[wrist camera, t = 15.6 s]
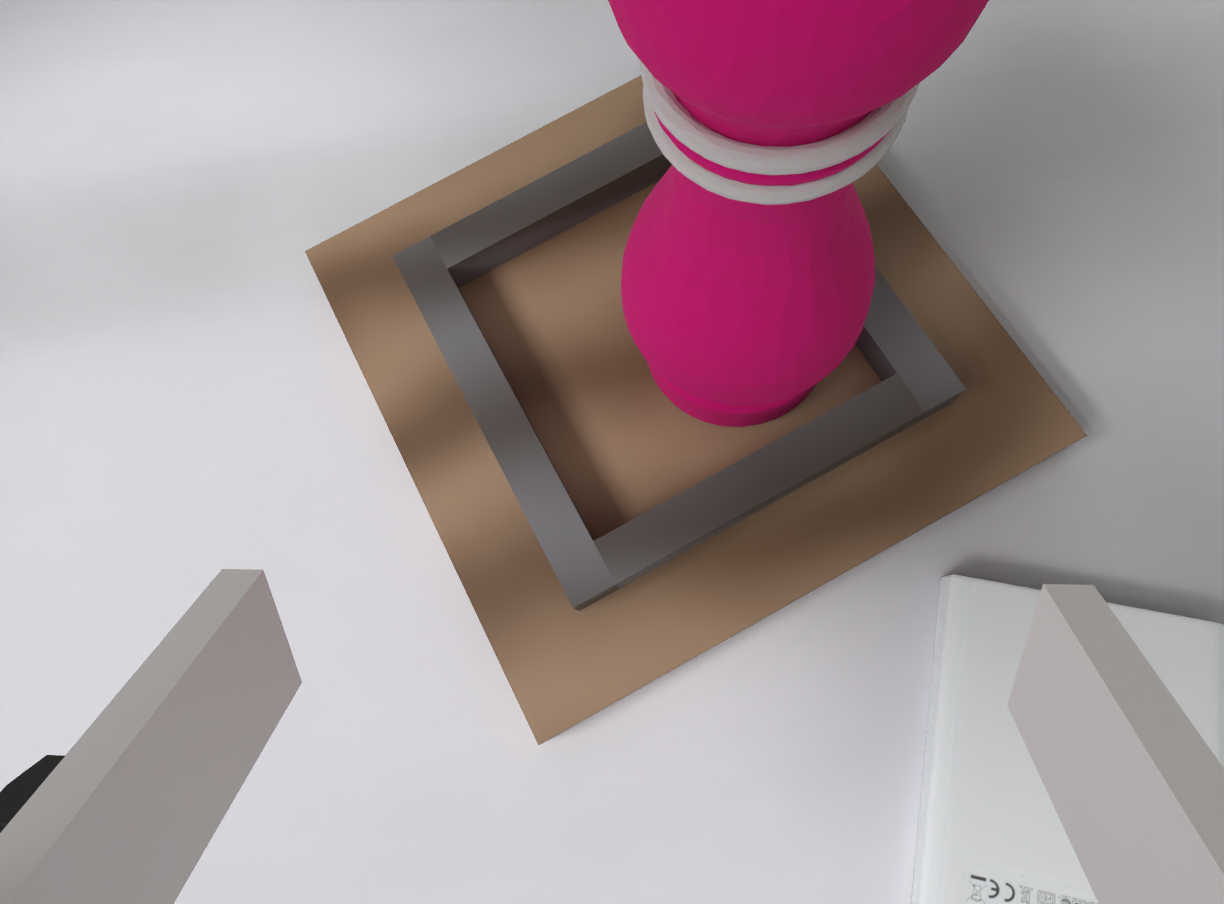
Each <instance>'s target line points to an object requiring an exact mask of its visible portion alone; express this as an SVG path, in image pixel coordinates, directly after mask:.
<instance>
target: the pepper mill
mask: <svg viewBox="0 0 1224 904" xmlns="http://www.w3.org/2000/svg"><path fill="white" fill-rule="evenodd" d="M608 1H609V3H610V6H611V8H612V11H613V13H614V16H615V18H616V21H617V23H618V26H619V28H620V30H621V32H622V34H623V36H624V38H625V40H626V42H627V44H628V45H629V47H630V48H631V49H632V50H633V52H634V53H635V54H636V55H637V57H638V58H639V59H640V68H641V76H642V81H643V103H644V112H645V117H646V121H647V125H648V127H649V129H650V131H651V134H652V136H653V138H654V140H655V142H656V144H657V145H658V147H659V148H660V150H661V152H662V153H663V155H664V156H665V157H666V158H667V159H668V160H669V162H670V163H671V164H672V165H671V167H670V168H669V169H668V170H667V172H666V173H665V174H664V176H663V177H662V178H661V179H660V181H659V182H658V183H657V185H656V186H655V187H654V188H653V190H652V191H651V193H650V194H649V196H648V197H647V199H646V200H645V201H644V203H643V205H642V207H641V209H640V211H639V213H638V215H637V217H636V220H635V222H634V224H633V227H632V229H631V232H630V234H629V237H628V240H627V244H626V247H625V250H624V254H623V262H622V275H621V296H622V305H623V313H624V316H625V320H626V323H627V326H628V329H629V332H630V334H631V336H632V338H633V340H634V342H635V344H636V345H637V347H638V349H639V350H640V352H641V353H642V355H643V356H644V358H645V359H646V361H647V363H648V366H649V369H650V371H651V374H652V376H653V378H654V380H655V382H656V384H657V385H658V387H659V388H660V390H661V391H662V392H663V394H664V395H665V396H666V397H667V398H668V399H669V400H670V401H671V402H672V403H673V404H674V405H675V406H677V407H678V408H679V409H681V410H682V411H684V412H685V413H687V414H689V415H690V416H692V417H694V418H697V419H699V420H701V421H704V422H707V423H711V424H714V425H720V426H726V427H745V426H752V425H758V424H762V423H765V422H768V421H771V420H774V419H777V418H779V417H781V416H783V415H784V414H786V413H788V412H789V411H791V410H792V409H794V408H795V407H796V406H798V405H799V404H800V403H801V402H802V401H803V400H804V399H805V398H806V397H807V396H808V395H809V393H810V392H811V391H812V390H813V388H814V387H815V386H816V384H817V383H819V382H820V381H821V380H823V379H824V378H825V377H826V376H827V375H828V374H829V373H831V372H832V371H833V370H834V369H835V368H836V367H838V365H839V364H840V363H841V362H842V360H843V359H844V358H845V357H846V356H847V354H848V353H849V352H850V351H851V349H852V348H853V346H854V345H855V343H856V341H857V339H858V337H859V335H860V334H861V332H862V329H863V326H864V323H865V320H866V317H867V314H868V311H869V307H870V302H871V298H872V294H873V289H874V285H875V258H874V249H873V243H872V237H871V231H870V225H869V222H868V220H867V217H866V214H865V212H864V209H863V207H862V204H861V202H860V199H859V197H858V195H857V192H856V190H855V187H854V184H853V181H855V180H857V179H858V178H860V177H862V176H863V175H864V174H865V173H867V172H868V171H869V170H870V169H871V168H872V167H874V166H875V165H876V164H877V163H878V162H879V161H880V159H881V158H882V157H883V156H884V155H885V153H886V152H887V151H888V149H889V148H890V146H891V145H892V143H893V142H894V140H895V139H896V137H897V136H898V134H899V132H900V130H901V127H902V125H903V123H904V121H905V119H906V114H907V110H908V107H909V105H910V103H911V101H912V99H913V97H914V95H915V93H916V91H917V88H918V85H919V83H920V82H921V81H922V80H923V79H925V78H926V77H927V76H929V75H930V74H931V73H933V72H934V71H935V70H936V69H938V68H939V67H940V66H941V65H942V64H943V63H944V62H945V61H946V60H947V59H948V58H949V56H950V55H951V54H952V53H953V52H954V51H955V50H956V49H957V48H958V47H959V46H960V44H961V43H962V42H963V41H964V39H965V38H966V36H967V35H968V33H969V31H970V30H971V28H972V27H973V25H974V23H975V22H976V20H977V19H978V17H979V16H980V14H981V12H982V11H983V9H984V8H985V6H986V4H987V2H988V1H989V0H608Z"/></svg>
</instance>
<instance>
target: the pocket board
mask: <svg viewBox="0 0 1224 904" xmlns="http://www.w3.org/2000/svg"><path fill="white" fill-rule="evenodd" d="M671 165H672V164H671V163H670V162H669V160H668V159H667V158H666V157H665V156H664V155H663V153H662V152H661V150H660V148H659V147H658V145H657V144H656V142H655V140H654V138H653V136H652V134H651V131H650V129H649V127H648V125H647V121H646V117H645V112H644V103H643V81H642V76H639V77H637V78H635V79H633V80H631V81H629V82H628V83H626V84H624V85H622V86H620V87H618V88H616V89H614V90H612V91H610V92H608V93H606V94H605V95H603V96H601V97H599V98H597V99H595V100H593V101H591V102H589V103H587V104H585V105H584V106H582V107H580V108H578V109H576V110H574V111H572V112H570V113H568V114H566V115H564V116H563V117H561V118H559V119H557V120H555V121H553V122H551V123H549V124H547V125H545V126H543V127H542V128H540V129H538V130H536V131H534V132H532V133H530V134H528V135H526V136H524V137H522V138H521V139H519V140H517V141H515V142H513V143H511V144H509V145H507V146H505V147H503V148H501V149H500V150H498V151H496V152H494V153H492V154H490V155H488V156H486V157H484V158H482V159H480V160H478V161H477V162H475V163H473V164H471V165H469V166H467V167H465V168H463V169H461V170H459V171H457V172H456V173H454V174H452V175H450V176H448V177H446V178H444V179H442V180H440V181H438V182H436V183H435V184H433V185H431V186H429V187H427V188H425V189H423V190H421V191H419V192H417V193H415V194H414V195H412V196H410V197H408V198H406V199H404V200H402V201H400V202H398V203H396V204H394V205H393V206H391V207H389V208H387V209H385V210H383V211H381V212H379V213H377V214H375V215H373V216H372V217H370V218H368V219H366V220H364V221H362V222H360V223H358V224H356V225H354V226H352V227H350V228H349V229H347V230H345V231H343V232H341V233H339V234H337V235H335V236H333V237H331V238H329V239H328V240H326V241H324V242H322V243H320V244H318V245H316V246H314V247H312V248H310V249H308V250H307V251H305V252H306V254H307V256H308V259H309V261H310V263H311V265H312V267H313V269H314V271H315V273H316V276H317V278H318V280H319V282H320V284H321V286H322V288H323V290H324V292H325V295H326V297H327V299H328V301H329V303H330V305H331V307H332V309H333V311H334V314H335V316H336V318H337V320H338V322H339V324H340V326H341V328H342V330H343V333H344V335H345V337H346V339H347V341H348V343H349V345H350V347H351V350H352V352H353V354H354V356H355V358H356V360H357V362H358V364H359V366H360V369H361V371H362V373H363V375H364V377H365V379H366V381H367V383H368V385H369V388H370V390H371V392H372V394H373V396H374V398H375V400H376V402H377V404H378V407H379V409H380V411H381V413H382V415H383V417H384V419H385V421H386V423H387V426H388V428H389V430H390V432H391V434H392V436H393V438H394V440H395V443H396V445H397V447H398V449H399V451H400V453H401V455H402V457H403V459H404V462H405V464H406V466H407V468H408V470H409V472H410V474H411V476H412V478H413V481H414V483H415V485H416V487H417V489H418V491H419V493H420V495H421V497H422V500H423V502H424V504H425V506H426V508H427V510H428V512H429V514H430V517H431V519H432V521H433V523H434V525H435V527H436V529H437V531H438V533H439V536H440V538H441V540H442V542H443V544H444V546H445V548H446V550H447V552H448V555H449V557H450V559H451V561H452V563H453V565H454V567H455V569H456V571H457V574H458V576H459V578H460V580H461V582H462V584H463V586H464V588H465V591H466V593H467V595H468V597H469V599H470V601H471V603H472V605H473V607H474V610H475V612H476V614H477V616H478V618H479V620H480V622H481V624H482V626H483V629H484V631H485V633H486V635H487V637H488V639H489V641H490V643H491V645H492V648H493V650H494V652H495V654H496V656H497V658H498V660H499V662H500V665H501V667H502V669H503V671H504V673H505V675H506V677H507V679H508V681H509V684H510V686H511V688H512V690H513V692H514V694H515V696H516V698H517V700H518V703H519V705H520V707H521V709H522V711H523V713H524V715H525V717H526V719H527V722H528V724H529V726H530V728H531V730H532V732H533V734H534V736H535V739H536V741H537V743H538V745H540V744H542V743H544V742H545V741H547V740H549V739H551V738H552V737H554V736H556V735H558V734H560V733H561V732H563V731H565V730H567V729H568V728H570V727H572V726H574V725H575V724H577V723H579V722H581V721H583V720H584V719H586V718H588V717H590V716H591V715H593V714H595V713H597V712H598V711H600V710H602V709H604V708H606V707H607V706H609V705H611V704H613V703H614V702H616V701H618V700H620V699H621V698H623V697H625V696H627V695H629V694H630V693H632V692H634V691H636V690H637V689H639V688H641V687H643V686H645V685H646V684H648V683H650V682H652V681H653V680H655V679H657V678H659V677H660V676H662V675H664V674H666V673H668V672H669V671H671V670H673V669H675V668H676V667H678V666H680V665H682V664H683V663H685V662H687V661H689V660H691V659H692V658H694V657H696V656H698V655H699V654H701V653H703V652H705V651H706V650H708V649H710V648H712V647H714V646H715V645H717V644H719V643H721V642H722V641H724V640H726V639H728V638H729V637H731V636H733V635H735V634H737V633H738V632H740V631H742V630H744V629H745V628H747V627H749V626H751V625H753V624H754V623H756V622H758V621H760V620H761V619H763V618H765V617H767V616H768V615H770V614H772V613H774V612H776V611H777V610H779V609H781V608H783V607H784V606H786V605H788V604H790V603H791V602H793V601H795V600H797V599H799V598H800V597H802V596H804V595H806V594H807V593H809V592H811V591H813V590H814V589H816V588H818V587H820V586H822V585H823V584H825V583H827V582H829V581H830V580H832V579H834V578H836V577H838V576H839V575H841V574H843V573H845V572H846V571H848V570H850V569H852V568H853V567H855V566H857V565H859V564H861V563H862V562H864V561H866V560H868V559H869V558H871V557H873V556H875V555H876V554H878V553H880V552H882V551H884V550H885V549H887V548H889V547H891V546H892V545H894V544H896V543H898V542H899V541H901V540H903V539H905V538H907V537H908V536H910V535H912V534H914V533H915V532H917V531H919V530H921V529H922V528H924V527H926V526H928V525H930V524H931V523H933V522H935V521H937V520H938V519H940V518H942V517H944V516H946V515H947V514H949V513H951V512H953V511H954V510H956V509H958V508H960V507H961V506H963V505H965V504H967V503H969V502H970V501H972V500H974V499H976V498H977V497H979V496H981V495H983V494H984V493H986V492H988V491H990V490H992V489H993V488H995V487H997V486H999V485H1000V484H1002V483H1004V482H1006V481H1007V480H1009V479H1011V478H1013V477H1015V476H1016V475H1018V474H1020V473H1022V472H1023V471H1025V470H1027V469H1029V468H1031V467H1032V466H1034V465H1036V464H1038V463H1039V462H1041V461H1043V460H1045V459H1046V458H1048V457H1050V456H1052V455H1054V454H1055V453H1057V452H1059V451H1061V450H1062V449H1064V448H1066V447H1068V446H1069V445H1071V444H1073V443H1075V442H1077V441H1078V440H1080V439H1082V438H1084V437H1085V436H1087V435H1086V434H1085V432H1084V431H1083V430H1082V428H1081V427H1080V426H1079V425H1078V423H1077V422H1076V421H1075V419H1074V418H1073V417H1072V416H1071V414H1070V413H1069V412H1068V410H1067V409H1066V408H1065V406H1064V405H1063V404H1062V403H1061V401H1060V400H1059V399H1058V397H1057V396H1056V395H1055V394H1054V392H1053V391H1052V390H1051V388H1050V387H1049V386H1048V385H1047V383H1046V382H1045V381H1044V379H1043V378H1042V377H1041V376H1040V374H1039V373H1038V372H1037V370H1036V369H1035V368H1034V367H1033V365H1032V364H1031V363H1030V361H1029V360H1028V359H1027V358H1026V356H1025V355H1024V354H1023V352H1022V351H1021V350H1020V349H1019V347H1018V346H1017V345H1016V343H1015V342H1014V341H1013V339H1012V338H1011V337H1010V336H1009V334H1008V333H1007V332H1006V330H1005V329H1004V328H1003V327H1002V325H1001V324H1000V323H999V321H998V320H997V319H996V318H995V316H994V315H993V314H992V312H991V311H990V310H989V309H988V307H987V306H986V305H985V303H984V302H983V301H982V300H981V298H980V297H979V296H978V294H977V293H976V292H975V291H974V289H973V288H972V287H971V285H970V284H969V283H968V282H967V280H966V279H965V278H964V276H963V275H962V274H961V272H960V271H959V270H958V269H957V267H956V266H955V265H954V263H953V262H952V261H951V260H950V258H949V257H948V256H947V254H946V253H945V252H944V251H943V249H942V248H941V247H940V245H939V244H938V243H937V242H936V240H935V239H934V238H933V236H932V235H931V234H930V233H929V231H928V230H927V229H926V227H925V226H924V225H923V224H922V222H921V221H920V220H919V218H918V217H917V216H916V215H915V213H914V212H913V211H912V209H911V208H910V207H909V205H908V204H907V203H906V202H905V200H904V199H903V198H902V196H901V195H900V194H899V193H898V191H897V190H896V189H895V187H894V186H893V185H892V184H891V182H890V181H889V180H888V178H887V177H886V176H885V175H884V173H883V172H882V171H881V169H880V168H879V167H878V166H877V164H876V165H875V166H874V167H872V168H871V169H870V170H869V171H868V172H867V173H865V174H864V175H863V176H862V177H860V178H858V179H857V180H855V181H853V184H854V187H855V190H856V192H857V195H858V197H859V199H860V202H861V204H862V207H863V209H864V212H865V214H866V217H867V220H868V222H869V225H870V231H871V237H872V243H873V249H874V258H875V285H874V289H873V294H872V298H871V302H870V307H869V311H868V314H867V317H866V320H865V323H864V326H863V329H862V332H861V334H860V335H859V337H858V339H857V341H856V343H855V345H854V346H853V348H852V349H851V351H850V352H849V353H848V354H847V356H846V357H845V358H844V359H843V360H842V362H841V363H840V364H839V365H838V367H836V368H835V369H834V370H833V371H832V372H831V373H829V374H828V375H827V376H826V377H825V378H824V379H823V380H821V381H820V382H819V383H817V384H816V386H815V387H814V388H813V390H812V391H811V392H810V393H809V395H808V396H807V397H806V398H805V399H804V400H803V401H802V402H801V403H800V404H799V405H798V406H796V407H795V408H794V409H792V410H791V411H789V412H788V413H786V414H784V415H783V416H781V417H779V418H777V419H774V420H771V421H768V422H765V423H762V424H758V425H752V426H745V427H726V426H720V425H714V424H711V423H707V422H704V421H701V420H699V419H697V418H694V417H692V416H690V415H689V414H687V413H685V412H684V411H682V410H681V409H679V408H678V407H677V406H675V405H674V404H673V403H672V402H671V401H670V400H669V399H668V398H667V397H666V396H665V395H664V394H663V392H662V391H661V390H660V388H659V387H658V385H657V384H656V382H655V380H654V378H653V376H652V374H651V371H650V369H649V366H648V363H647V361H646V359H645V358H644V356H643V355H642V353H641V352H640V350H639V349H638V347H637V345H636V344H635V342H634V340H633V338H632V336H631V334H630V332H629V329H628V326H627V323H626V320H625V316H624V313H623V305H622V296H621V275H622V262H623V254H624V250H625V247H626V244H627V240H628V237H629V234H630V232H631V229H632V227H633V224H634V222H635V220H636V217H637V215H638V213H639V211H640V209H641V207H642V205H643V203H644V201H645V200H646V199H647V197H648V196H649V194H650V193H651V191H652V190H653V188H654V187H655V186H656V185H657V183H658V182H659V181H660V179H661V178H662V177H663V176H664V174H665V173H666V172H667V170H668V169H669V168H670V167H671Z"/></svg>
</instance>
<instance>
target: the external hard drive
mask: <svg viewBox="0 0 1224 904" xmlns="http://www.w3.org/2000/svg"><path fill="white" fill-rule="evenodd" d="M1040 593H1041V590H1038V589H1033V588H1028V587H1023V586H1016V585H1011V584H1006V583H1001V582H996V581H989V580H985V579H978V578H972V577H967V576H960V575H956V574H952V575H948V576H944V577H942V578H941V584H940V596H939V606H938V616H937V627H936V638H935V650H934V661H933V672H932V683H931V693H930V704H929V715H928V725H927V736H926V748H925V758H924V768H923V778H922V789H921V800H920V811H919V821H918V832H917V843H916V853H915V864H914V875H913V885H912V896H911V904H1098V901H1097V899H1096V897H1095V895H1094V893H1093V891H1092V888H1091V886H1090V884H1089V882H1088V880H1087V878H1086V875H1085V873H1084V871H1083V869H1082V867H1081V865H1080V862H1079V860H1078V858H1077V856H1076V854H1075V851H1074V849H1073V847H1072V845H1071V843H1070V841H1069V838H1068V836H1067V834H1066V832H1065V830H1064V828H1063V825H1062V823H1061V821H1060V819H1059V817H1058V815H1057V812H1056V810H1055V808H1054V806H1053V804H1052V802H1051V799H1050V797H1049V795H1048V793H1047V791H1046V788H1045V786H1044V784H1043V782H1042V780H1041V778H1040V775H1039V773H1038V771H1037V769H1036V767H1035V765H1034V762H1033V760H1032V758H1031V756H1030V754H1029V752H1028V749H1027V747H1026V745H1025V743H1024V741H1023V739H1022V736H1021V734H1020V732H1019V730H1018V728H1017V725H1016V723H1015V721H1014V719H1013V717H1012V715H1011V712H1010V710H1009V708H1008V706H1007V705H1008V702H1009V698H1010V695H1011V691H1012V688H1013V685H1014V681H1015V678H1016V674H1017V671H1018V668H1019V664H1020V661H1021V657H1022V654H1023V651H1024V647H1025V644H1026V640H1027V637H1028V633H1029V630H1030V627H1031V623H1032V620H1033V616H1034V613H1035V610H1036V606H1037V603H1038V599H1039V596H1040ZM1106 603H1107V604H1108V606H1109V607H1110V608H1111V610H1112V611H1113V613H1114V614H1115V615H1116V617H1117V618H1118V620H1119V621H1120V623H1121V624H1122V625H1123V627H1124V628H1125V630H1126V631H1127V632H1128V634H1129V635H1130V637H1131V638H1132V639H1133V641H1134V642H1135V644H1136V645H1137V646H1138V648H1139V649H1140V651H1141V652H1142V654H1143V655H1144V656H1145V658H1146V659H1147V661H1148V662H1149V663H1150V665H1151V666H1152V668H1153V669H1154V670H1155V672H1156V673H1157V675H1158V676H1159V678H1160V679H1161V680H1162V682H1163V683H1164V685H1165V686H1166V687H1167V689H1168V690H1169V692H1170V693H1171V694H1172V696H1173V697H1174V699H1175V700H1176V701H1177V703H1178V704H1179V706H1180V707H1181V709H1182V710H1183V711H1184V713H1185V714H1186V716H1187V717H1188V718H1189V720H1190V721H1191V723H1192V724H1193V725H1194V727H1195V728H1196V730H1197V731H1198V732H1199V734H1200V735H1201V737H1202V738H1203V740H1204V741H1205V742H1206V744H1207V745H1208V747H1209V748H1210V749H1211V751H1212V752H1213V754H1214V755H1215V756H1216V758H1217V759H1218V761H1219V762H1220V764H1221V765H1222V766H1223V768H1224V624H1222V623H1218V622H1212V621H1207V620H1202V619H1196V618H1191V617H1185V616H1180V615H1174V614H1169V613H1163V612H1158V611H1153V610H1147V609H1142V608H1136V607H1131V606H1125V605H1120V604H1114V603H1109V602H1106Z"/></svg>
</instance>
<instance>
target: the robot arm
mask: <svg viewBox="0 0 1224 904" xmlns="http://www.w3.org/2000/svg"><path fill="white" fill-rule="evenodd" d="M301 683H302V681H301V678H300V675H299V672H298V670H297V667H296V664H295V661H294V658H293V655H292V652H291V649H290V646H289V643H288V640H287V638H286V635H285V632H284V629H283V626H282V623H281V620H280V617H279V614H278V611H277V609H276V606H275V603H274V600H273V597H272V594H271V591H270V588H269V585H268V582H267V579H266V577H265V574H264V571H263V570H240V569H222V570H221V571H220V573H219V574H218V575H217V576H216V577H215V578H214V580H213V581H212V582H211V583H210V584H209V586H208V587H207V588H206V589H205V590H204V592H203V593H202V594H201V595H200V596H199V598H198V599H197V600H196V601H195V602H194V603H193V605H192V606H191V607H190V608H189V609H188V611H187V612H186V613H185V614H184V615H183V617H182V618H181V619H180V620H179V621H178V622H177V624H176V625H175V626H174V627H173V628H172V630H171V631H170V632H169V633H168V634H167V636H166V637H165V638H164V639H163V640H162V641H161V643H160V644H159V645H158V646H157V647H156V649H155V650H154V651H153V652H152V653H151V655H150V656H149V657H148V658H147V659H146V661H145V662H144V663H143V664H142V665H141V666H140V668H139V669H138V670H137V671H136V672H135V674H134V675H133V676H132V677H131V678H130V680H129V681H128V682H127V683H126V684H125V685H124V687H123V688H122V689H121V690H120V691H119V693H118V694H117V695H116V696H115V697H114V699H113V700H112V701H111V702H110V703H109V704H108V706H107V707H106V708H105V709H104V710H103V712H102V713H101V714H100V715H99V716H98V718H97V719H96V720H95V721H94V722H93V723H92V725H91V726H90V727H89V728H88V729H87V731H86V732H85V733H84V734H83V735H82V737H81V738H80V739H79V740H78V741H77V743H76V744H75V745H74V746H73V747H72V748H71V750H70V751H69V752H68V753H67V754H66V756H56V755H46V756H45V757H44V758H42V759H41V760H40V761H38V762H37V763H36V764H34V765H33V766H32V767H30V768H29V769H28V770H26V771H25V772H24V773H22V774H21V775H20V776H18V777H17V778H16V779H14V780H13V781H12V782H10V783H9V784H8V785H6V787H5V788H4V789H3V790H2V791H1V792H0V904H173V903H174V902H175V900H176V898H177V897H178V895H179V893H180V891H181V890H182V888H183V886H184V884H185V883H186V881H187V879H188V878H189V876H190V874H191V872H192V871H193V869H194V867H195V866H196V864H197V862H198V860H199V859H200V857H201V855H202V853H203V852H204V850H205V848H206V847H207V845H208V843H209V841H210V840H211V838H212V836H213V834H214V833H215V831H216V829H217V828H218V826H219V824H220V822H221V821H222V819H223V817H224V816H225V814H226V812H227V810H228V809H229V807H230V805H231V803H232V802H233V800H234V798H235V797H236V795H237V793H238V791H239V790H240V788H241V786H242V784H243V783H244V781H245V779H246V778H247V776H248V774H249V772H250V771H251V769H252V767H253V766H254V764H255V762H256V760H257V759H258V757H259V755H260V753H261V752H262V750H263V748H264V747H265V745H266V743H267V741H268V740H269V738H270V736H271V734H272V733H273V731H274V729H275V728H276V726H277V724H278V722H279V721H280V719H281V717H282V716H283V714H284V712H285V710H286V709H287V707H288V705H289V703H290V702H291V700H292V698H293V697H294V695H295V693H296V691H297V690H298V688H299V686H300V684H301ZM1007 706H1008V708H1009V710H1010V712H1011V715H1012V717H1013V719H1014V721H1015V723H1016V725H1017V728H1018V730H1019V732H1020V734H1021V736H1022V739H1023V741H1024V743H1025V745H1026V747H1027V749H1028V752H1029V754H1030V756H1031V758H1032V760H1033V762H1034V765H1035V767H1036V769H1037V771H1038V773H1039V775H1040V778H1041V780H1042V782H1043V784H1044V786H1045V788H1046V791H1047V793H1048V795H1049V797H1050V799H1051V802H1052V804H1053V806H1054V808H1055V810H1056V812H1057V815H1058V817H1059V819H1060V821H1061V823H1062V825H1063V828H1064V830H1065V832H1066V834H1067V836H1068V838H1069V841H1070V843H1071V845H1072V847H1073V849H1074V851H1075V854H1076V856H1077V858H1078V860H1079V862H1080V865H1081V867H1082V869H1083V871H1084V873H1085V875H1086V878H1087V880H1088V882H1089V884H1090V886H1091V888H1092V891H1093V893H1094V895H1095V897H1096V899H1097V901H1098V904H1224V768H1223V766H1222V765H1221V764H1220V762H1219V761H1218V759H1217V758H1216V756H1215V755H1214V754H1213V752H1212V751H1211V749H1210V748H1209V747H1208V745H1207V744H1206V742H1205V741H1204V740H1203V738H1202V737H1201V735H1200V734H1199V732H1198V731H1197V730H1196V728H1195V727H1194V725H1193V724H1192V723H1191V721H1190V720H1189V718H1188V717H1187V716H1186V714H1185V713H1184V711H1183V710H1182V709H1181V707H1180V706H1179V704H1178V703H1177V701H1176V700H1175V699H1174V697H1173V696H1172V694H1171V693H1170V692H1169V690H1168V689H1167V687H1166V686H1165V685H1164V683H1163V682H1162V680H1161V679H1160V678H1159V676H1158V675H1157V673H1156V672H1155V670H1154V669H1153V668H1152V666H1151V665H1150V663H1149V662H1148V661H1147V659H1146V658H1145V656H1144V655H1143V654H1142V652H1141V651H1140V649H1139V648H1138V646H1137V645H1136V644H1135V642H1134V641H1133V639H1132V638H1131V637H1130V635H1129V634H1128V632H1127V631H1126V630H1125V628H1124V627H1123V625H1122V624H1121V623H1120V621H1119V620H1118V618H1117V617H1116V615H1115V614H1114V613H1113V611H1112V610H1111V608H1110V607H1109V606H1108V604H1107V603H1106V601H1105V600H1104V599H1103V597H1102V596H1101V594H1100V593H1099V591H1098V590H1097V589H1096V587H1095V586H1094V585H1077V584H1043V586H1042V589H1041V593H1040V596H1039V599H1038V603H1037V606H1036V610H1035V613H1034V616H1033V620H1032V623H1031V627H1030V630H1029V633H1028V637H1027V640H1026V644H1025V647H1024V651H1023V654H1022V657H1021V661H1020V664H1019V668H1018V671H1017V674H1016V678H1015V681H1014V685H1013V688H1012V691H1011V695H1010V698H1009V702H1008V705H1007Z"/></svg>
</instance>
